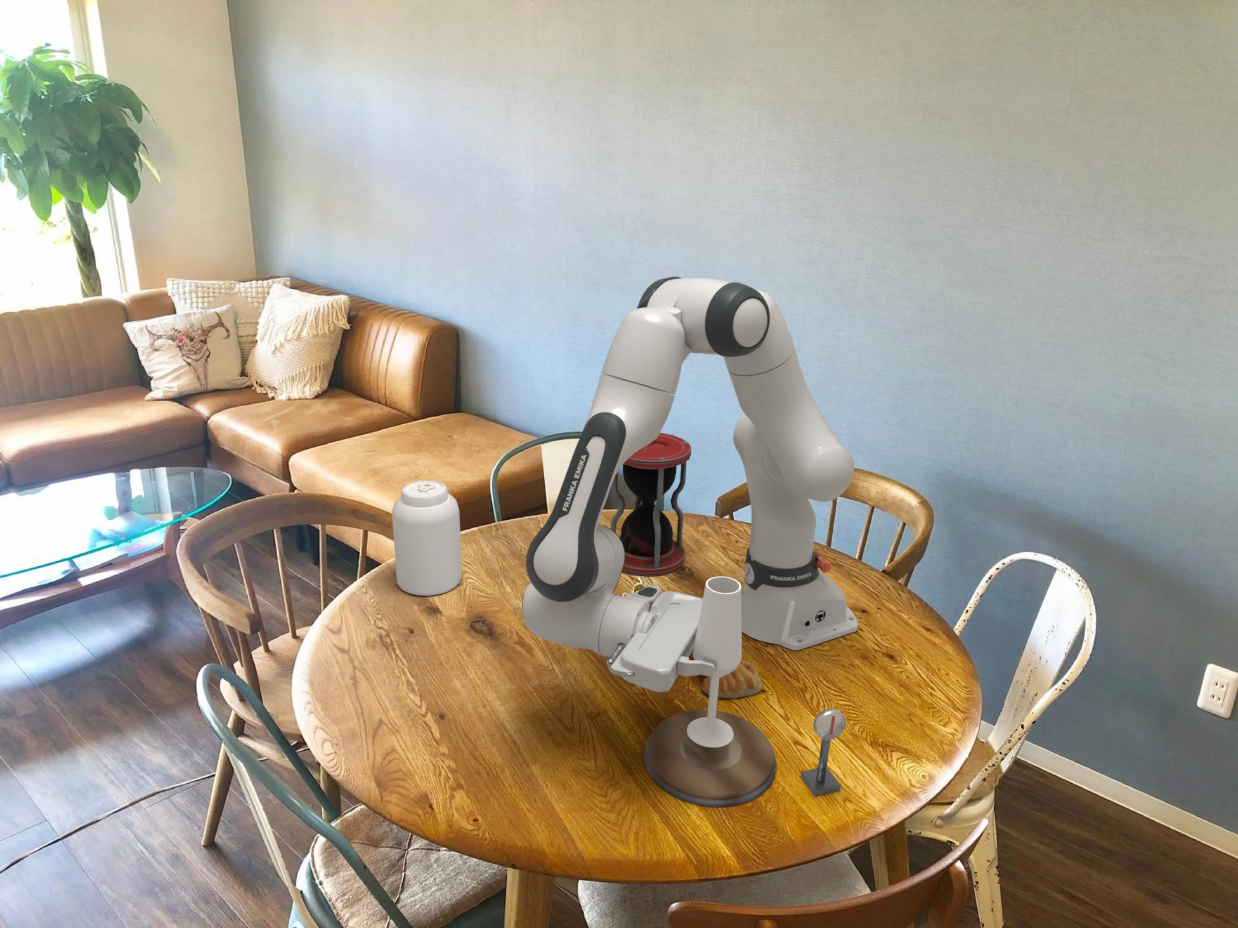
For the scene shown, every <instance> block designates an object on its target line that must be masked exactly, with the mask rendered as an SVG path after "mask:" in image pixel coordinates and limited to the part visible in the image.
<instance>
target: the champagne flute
mask: <svg viewBox="0 0 1238 928" xmlns="http://www.w3.org/2000/svg"><path fill="white" fill-rule="evenodd" d="M741 596H742V585H741V583H740V582H739V581H738V580H737V579H735V578H733V577H729V576H721V575H720V576H713V577H710V578H708V579H707V580H706V582H705V585H704V591H703V597H702V599H703V601H702V606H701V612H700V617H699V622H698V628H697V633H696V638H695V643H694V649H693V651H692V657H693V660H702V661H703V659H704V658H708V659H710V660H715V661H716V662H717V666H716V671H715V673H714V675H713V676H712V677H711V682H710V693H709V695H708V696H709V697H708V707H707V710H708V716H707V717H704V718H698V719H696V720H693V721H692V722H691V723H690V724H689V725H688V727H687V734H688V736H689V737H690V739H691V740H693V741H694V742H695V743H697V744H699V745H702V746H705V747H721V746H724V745H727V744H728V743H729V742H731V740H732V739H733V735H734V734H733V730H732V728H731V727H730V726H729V725H728V724H727V723H726V722H724V721H722V720H719V719H716V711H717V706H718V699H719V698H718V687H719V678H720V677H723V676H725V675H727V674H729V673H731V672H732V671H733V670H735V669H736V667H737V666H738V665H739V664H740V663H741V661H742V657H743V653H742V652H743V651H742V650H743V649H742V645H743V644H742V643H743V639H742V633H743V632H742V622H741Z"/></svg>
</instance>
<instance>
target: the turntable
mask: <svg viewBox="0 0 1238 928" xmlns="http://www.w3.org/2000/svg"><path fill="white" fill-rule="evenodd" d="M707 716H708V709H693V710H687V711H681V712H678V713H675V714H673V715H671V716H668V717H666V718H665V719H663V720H662V721H660V722H659V724H657V725H656V727H655V728H654V729H653V730H652V732H651V733H650V735H649V736H648V739H646V743H645V746H644V752H643V753H644V757H643V759H644V764H645V768H646V771H647V774H648V775H649V777H650V778H651V779H652V781H653V782H654V783H655V784H656V785H657V786H658V787H659V788H660V789H662V791H664V792H665V793H667V794H669V795H671V796H672V797H674V798H676V799H678V800H680V801H682V802H685V803H689V804H691V805H692V804H693V805H696V806H699V807H700V806H701V807H708V808H727V807H728V808H729V807H734V806H739V805H742V804H746V803H748V802H750V801H751V802H752V801H753V800H755V799H757V798H758V797H761V795H762V794H763V793H765V792H766V791H767V790H768V789H769V788H770V787H771V785H772V783H773V781H774V779H775V776H776V770H777V759H776V754H775V752H774V749H773V746H772V744H771V742H770V740H769V739H768V736H766V734H764V732H763V731H762V730H761V729H760V728H759V727H758V726H757V725H754V724H753V723H752V722H750V721H749V720H747V719H745V718H743V717H741V716H738V715H735V714H733V713H729V712H727V711H726V712H725V711H720V710H716V719H719V720H722V721H724V722H726V723H727V724H728V725H729V726H730V727H731V728H732V730H733V734H734V735H733V739H732V740H731V742H729V743H728V744H727V745H724V746H721V747H705V746H702V745H699V744H697V743H695V742H694V741H693V740H691V739H690V737H689V736H688V734H687V727H688V725H689V724H690V723H691V722H692V721H693V720H696V719H698V718H704V717H707Z"/></svg>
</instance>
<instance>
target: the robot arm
mask: <svg viewBox="0 0 1238 928" xmlns="http://www.w3.org/2000/svg"><path fill="white" fill-rule="evenodd" d="M792 338H793V337H792V335H791V332H790V330H789V327H788V325H787V323H786V321H785V318H784V316H783V314H782V312H781V310H780V308H779V306H778V305H777V303H776V301H775V299H774V298H773V297H772V296H771V294H770V293H767V291H764V290H761V289H755V288H753V287H751V286H749V285H747V284H744V283H741V282H737V281H735V282H734V281H733V282H730V281H727V280H723V279H717V278H711V277H680V276H669V277H663V278H660V279H658V280H656V281H654V282H652V283H651V284H650V285H649V286H647V288H646V289H645V291H644V292H643V294H642V295H641V297H640V300H639V303H638V305H637V307H636V308H635V309H633V310H631V311H630V312H628V313H627V314H626V315H625V316H624V317H623V319H622V321H621V323H620V325H619V327H618V328H617V331H616V333H615V335H614V337H613V339H612V342H611V345H610V347H609V349H608V351H607V354H606V357H605V360H604V363H603V366H602V370H601V372H600V373H601V374H600V376H599V380H598V383H597V387H596V390H595V393H594V397H593V401H592V403H591V406H590V410H589V412H588V413H589V414H588V416H587V419H586V420H585V421H586V422H585V423H584V427H583V429H582V431H581V435H580V437H579V439H578V441H577V444H576V446H575V448H574V451H573V453H572V457H571V459H570V462H569V465H568V467H567V470H566V473H565V476H564V478H563V481H562V483H561V486H560V490H559V493H558V495H557V497H556V500H555V503H554V506H553V509H552V510H551V513H550V515H549V517H548V519H547V521H546V522H545V524H544V525H543V526H542V528H540V530H539V531H538V533H537V534H536V535H535V536H534V537H533V539H532V540H531V542H530V544H529V546H528V548H527V551H526V556H525V568H526V573H527V576H528V579H529V581H530V583H529V584H528V585H527V586H526V588H525V591H524V593H523V596H522V605H521V612H522V613H521V614H522V617H523V621H524V622H523V623H524V624H525V626H526V627H527V629H528V630H529V631H531V633H533V634H534V635H535V636H538V637H540V638H542V639H544V640H547V641H549V642H551V643H555V644H558V645H562V646H565V647H568V648H570V649H571V648H572V649H575V650H576V649H578V650H579V649H586V650H590V651H592V652H595V653H596V654H598V655H599V656H602V657H606V658H607V659H606V665H607V669H608V670H609V671H610V673H611V674H613V675H616V676H619V677H621V678H622V679H623V680H625V681H627V682H628V683H630V684H633V685H635V686H639V687H640V688H643V689H647V690H649V691H652V692H656V693H667V692H669V691H670V689H671V688H672V686H673V684H674V682H675V681H676V679H677V677H678V676H682V677H692V676H700V675H701V676H706V677H708V676H709V677H712V676H713V675H714V673H715V671H716V666H717V662H716V661H715V660H710V659H708V658H704V659H703V661H702V660H694V659H693V660H692V659H691V660H690V658H689V657H690V656H691V655H692V653H693V649H694V643H695V638H696V633H697V628H698V622H699V617H700V612H701V606H702V601H703V597H699V596H697V595H692V594H687V593H684V592H680V591H679V592H678V591H674V590H673V591H672V590H667V591H663V592H662V588H661V587H660V586H658V585H654V584H649V585H647V586H644V587H643V588H641V589H640V590H637V591H636V592H632V593H629V594H627V595H625V596H623V595H617V594H614V592H615V591H616V589H617V586H618V583H619V581H620V579H621V575H622V572H623V571H622V569H623V566H624V562H625V550H624V546H623V543H622V541H621V539H620V538H619V537H620V536H619V535H618V534H617V532H616V533H615V532H614V531H613V530H612V529H611V527H609V526H606V525H603V524H600V522H599V521H600V520H601V516H602V513H603V510H604V508H605V505H606V503H607V499H608V496H609V494H610V491H611V489H612V482H613V480H614V478H615V476H616V474H617V472H618V473H619V470H620V469H621V467H623V464H624V463H625V461H626V460H627V459H629V458H630V457H631V456H632V455H633V454H635V453H636V452H637V451H639V450H640V449H642V448H643V447H645V446H647V445H648V444H650V443H651V442H653V441H654V440H655V439H656V438H657V437H658V435H659V434H660V433H662V430H663V428H664V426H665V424H666V422H667V420H668V418H669V414H670V412H671V409H672V406H673V402H674V400H675V396H676V392H677V389H678V385H679V381H680V376H681V371H682V366H683V364H684V362H685V360H686V359H687V358H688V356H689V355H690V354H691V353H692V354H703V355H714V356H715V355H718V356H721V357H723V360H724V363H725V366H726V368H727V372H728V375H729V378H730V380H731V384H732V387H733V390H734V392H735V395H736V398H737V400H738V404H739V407H740V408H741V410H742V412H743V413H744V414H743V415H742V416H741V417H740V418H739V419H738V420H737V423H736V425H735V427H734V430H733V436H732V441H733V446H734V447H735V450H736V452H737V453H738V455H739V458H740V460H741V463H742V466H743V470H744V474H745V478H746V482H747V489H748V494H749V495H748V496H749V500H750V508H751V509H750V510H751V512H750V513H751V516H750V517H751V519H750V520H751V523H750V534H749V535H750V536H749V546H748V547H747V549H746V554H745V562H744V583H743V589H742V591H741V622H742V633H743V634H745V635H746V636H748V637H750V638H752V639H755V640H757V641H760V642H764V643H768V644H769V643H770V644H775V645H779V646H782V647H784V648H786V649H789V650H792V651H799V650H802V649H803V650H804V649H805V648H809V647H813V646H815V645H819V644H821V643H824V642H828V641H830V640H834V639H836V638H837V639H838V638H839V637H842V636H846V635H848V634H852V633H855V632H857V631H858V628H859V622H858V619H857V617H856V615H855V613H854V612H853V611H852V610H851V609H850V607H848V606H847V600H846V596H845V593H844V592H843V590H842V589H841V588H840V585H838V584H837V583H836V582H834V580H832V579H831V578H830V577H829V576H828V575H826V573H828V572H830V571H831V569H832V564H831V562H829V561H828V560H827V559H825V558H823V557H822V558H820V555H819V554H818V553H817V552H815V551H813V549H814V540H815V533H816V532H815V531H816V527H817V526H816V525H817V519H816V518H817V517H816V513H815V510H814V508H813V505H812V504H811V503H810V500H812V501H816V502H819V503H827V502H831V501H833V500H835V499H837V498H839V497H840V496H841V495H842V494H844V493H845V492H846V490H847V489H848V487H849V486H850V484H851V482H852V480H853V476H854V470H855V464H854V459H853V457H852V454H850V452H849V451H848V450H847V448H845V447H844V445H842V443H841V442H840V441H839V439H838V438H837V436H836V435H835V434H834V432H833V430H832V429H831V428H830V426H829V424H828V422H827V420H826V419H825V417H824V415H823V414H822V412H821V410H820V408H819V407H818V404H817V403H816V401H815V400H814V398H813V396H812V394H811V392H810V390H809V387H808V386H807V383H806V381H805V376H804V374H803V371H802V367H801V365H800V361H799V358H798V355H797V352H796V348H795V345H794V341H793V339H792Z"/></svg>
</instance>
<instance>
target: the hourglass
mask: <svg viewBox="0 0 1238 928" xmlns="http://www.w3.org/2000/svg"><path fill="white" fill-rule="evenodd" d="M691 456H692V446H691V444H690V443H689V442H688V441H687V440H685V439H684V438H682V437H679V436H677V435H674V434H671V433H664V432H660V434H659V435H658V437H657V438H656V439H655V440H654V441H653V442H651V443H650V444H648V445H647V446H645V447H643V448H642V449H640V450H639V451H637V452H636V453H635V454H633V455H632V456H631V457H630V458H629V459H627V460H626V461H625V463H624V464H623V465H622V477H623V480H624V482H625V486H627V488H628V490H630V491H631V493H632V494H633V495H634V496H635V497H636V499H635V501H634V510H632V511H631V512H630V513H629V514H628V515H627V516H626V517H625V519H624V521H623V523H622V525H621V529H620V536H619V538H620V539H621V541H622V543H623V546H624V550H625V562H624V566H623V569H622V572H624V573H626V574H630V575H635V576H641V575H642V576H641V577H655V576H663V575H666V574H671V573H673V572H675V571H677V570H679V569H680V567H682V566H683V565H684V563H685V559H686V551H685V548H684V545H683V528H684V527H683V525H684V514H683V511H682V509H680V507H679V504H678V498H679V494H680V493H681V492H682V491H683V490H684V487H685V484H686V477H687V476H686V475H687V461H690V460H691V459H690V458H691ZM678 466H680V474H679V483H678V485H677V488H675V490H673V491H672V495H671V497H670V505H671V508H672V509H673V511H674V512H675V513H676V516H677V530H676V540H675V539H673V538H674V532H673V530H674V529H673V527H672V524H671V522H670V519H669V518H668V517H667V516H666V514H665V513H664V512H663V511H662V510H661V508H662V506H663V502H664V501H663V500H664V499H663V497H664V495H665V494H666V493H668V491H669V490H670V489H671V488H672V486H674V485H673V484H674V483H675V480H676V475H677V469H678V468H677V467H678ZM618 473H619V471H618V472H617V474H616V476H615V478H614V480H613V482H612V485H611V491H612V494H613V496H614V497H615V498H616V500H617V504H618V507H617V510H616V513H615V514H614V515H613V516H612V519H611V521H610V529H612V530H613V531H614V532H615V533H616V534H617V523H618V520H619V518H620V517H621V516H623V514H624V511H625V509H626V501H625V498H624V496H622V494H620V491H619V489H618V477H619V476H618Z"/></svg>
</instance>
